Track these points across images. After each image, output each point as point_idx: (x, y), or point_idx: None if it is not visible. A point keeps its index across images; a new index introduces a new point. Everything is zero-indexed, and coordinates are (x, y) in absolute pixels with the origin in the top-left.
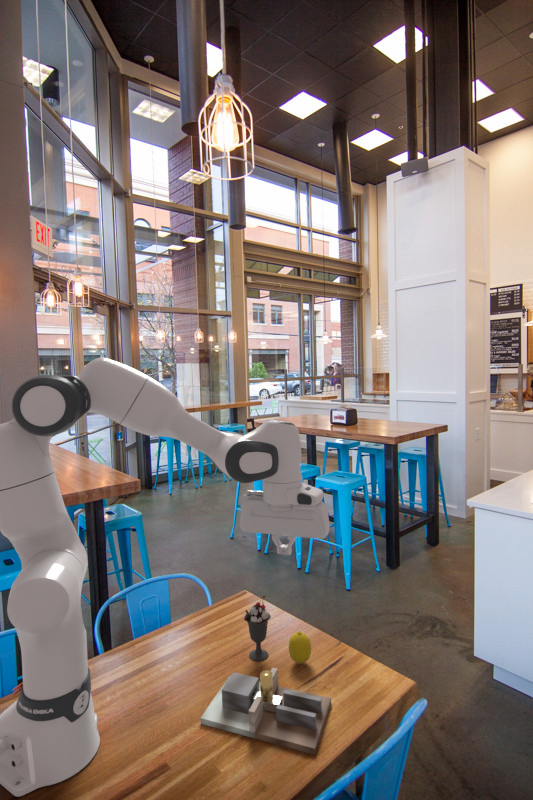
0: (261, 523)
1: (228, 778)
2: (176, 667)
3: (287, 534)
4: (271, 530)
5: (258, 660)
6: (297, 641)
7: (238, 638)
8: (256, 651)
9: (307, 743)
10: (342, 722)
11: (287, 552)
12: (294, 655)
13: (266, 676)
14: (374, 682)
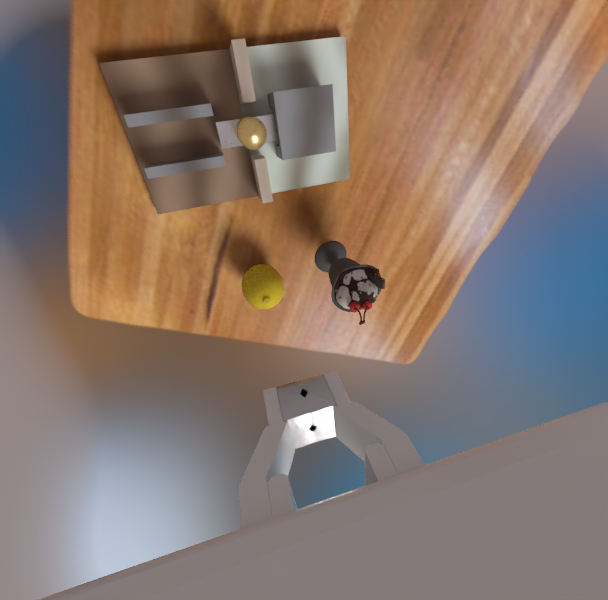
0: (597, 535)
1: None
2: (444, 161)
3: (283, 527)
4: (447, 499)
5: (324, 244)
6: (262, 282)
7: None
8: (335, 256)
9: (120, 70)
10: (112, 176)
11: (276, 396)
12: (262, 265)
13: (248, 126)
14: (125, 293)
